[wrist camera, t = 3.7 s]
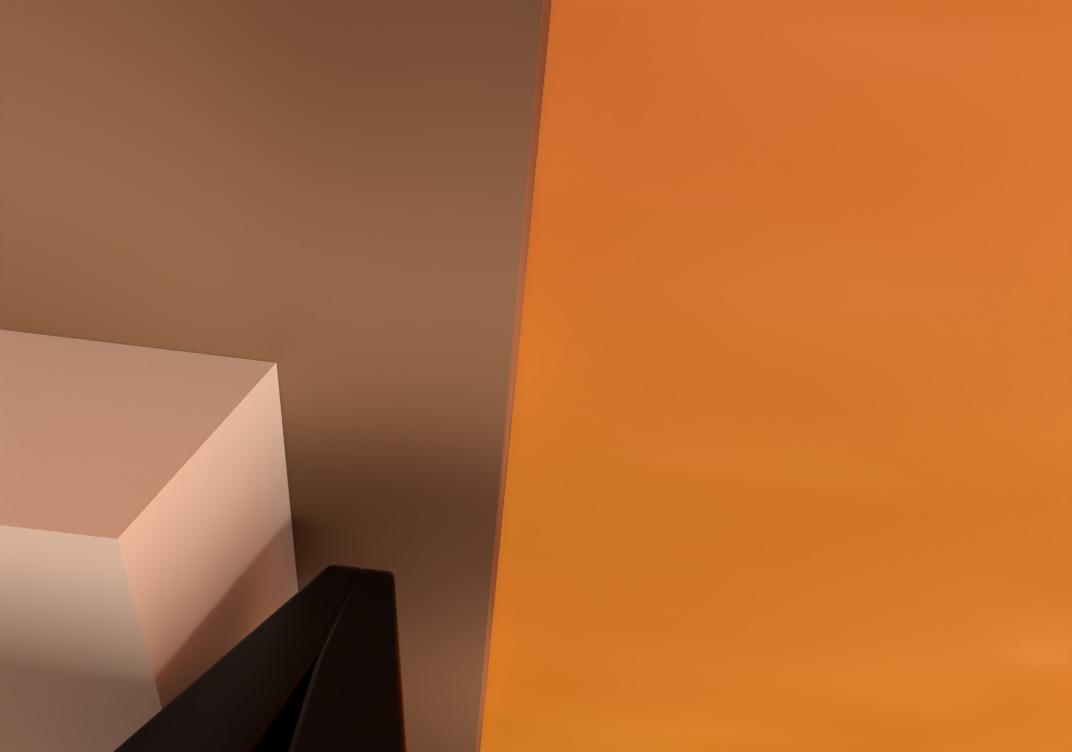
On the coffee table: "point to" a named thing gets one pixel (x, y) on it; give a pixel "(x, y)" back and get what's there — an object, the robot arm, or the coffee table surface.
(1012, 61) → the coffee table surface
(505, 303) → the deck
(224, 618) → the peach square block
